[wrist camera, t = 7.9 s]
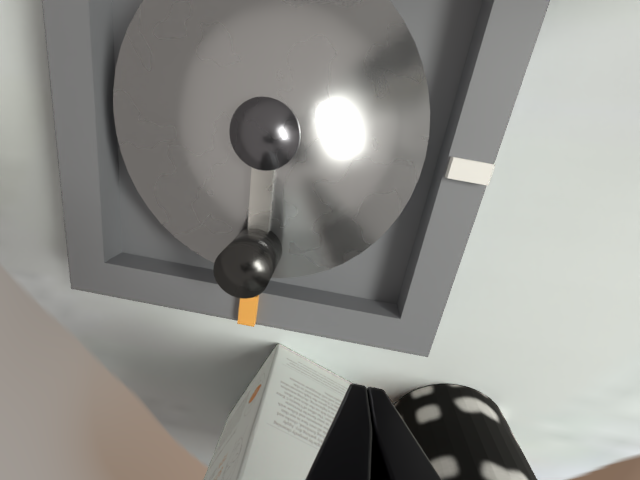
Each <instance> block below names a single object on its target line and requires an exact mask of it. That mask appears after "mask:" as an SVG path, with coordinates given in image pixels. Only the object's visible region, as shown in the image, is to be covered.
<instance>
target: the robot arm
mask: <svg viewBox="0 0 640 480" xmlns="http://www.w3.org/2000/svg"><path fill="white" fill-rule="evenodd" d="M305 480H442V479H441V478H440V476H439V474H438V473H437V471H436V470H435V468H434V467H433V465H432V464H431V462H430V461H429V459H428V457H427V456H426V454H425V453H424V451H423V450H422V448H421V447H420V445H419V444H418V442H417V440H416V439H415V437H414V436H413V434H412V433H411V431H410V430H409V428H408V427H407V425H406V423H405V422H404V420H403V419H402V417H401V416H400V414H399V413H398V411H397V410H396V408H395V406H394V405H393V403H392V402H391V400H390V399H389V397H388V396H387V394H386V393H385V391H384V390H382V389H378V388H372V387H368V388H366V387H365V386H362V385H357V384H350V385H349V387H348V390H347V392H346V394H345V396H344V398H343V400H342V402H341V404H340V407H339V409H338V411H337V413H336V415H335V417H334V419H333V422H332V424H331V426H330V428H329V430H328V432H327V434H326V436H325V439H324V441H323V443H322V445H321V447H320V449H319V451H318V453H317V456H316V458H315V460H314V462H313V464H312V466H311V468H310V470H309V473H308V475H307V477H306V479H305Z"/></svg>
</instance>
